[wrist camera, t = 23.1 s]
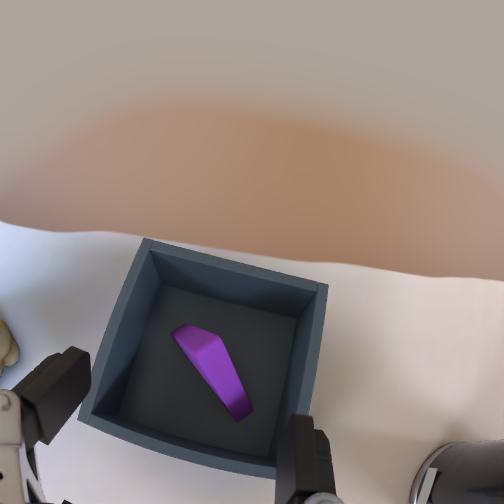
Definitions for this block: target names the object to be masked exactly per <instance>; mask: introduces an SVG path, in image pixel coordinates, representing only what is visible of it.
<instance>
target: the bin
mask: <svg viewBox="0 0 504 504" xmlns="http://www.w3.org/2000/svg"><path fill="white" fill-rule="evenodd" d="M328 287H329V285H328V284H324V283H320V282H319V283H318V282H316V281H312V280H308V279H304V278H300V277H296V276H292V275H287V274H283V273H279V272H275V271H271V270H267V269H263V268H259V267H255V266H251V265H247V264H243V263H239V262H235V261H231V260H228V259H224V258H220V257H216V256H212V255H208V254H204V253H200V252H196V251H192V250H188V249H184V248H181V247H177V246H173V245H169V244H165V243H161V242H158V241H153V240H151V239H147V238H143V241H142V243H141V245H140V247H139V249H138V252H137V254H136V256H135V259H134V261H133V263H132V265H131V268H130V270H129V273H128V275H127V277H126V280H125V282H124V285H123V287H122V289H121V292H120V294H119V297H118V299H117V302H116V305H115V307H114V310H113V312H112V315H111V318H110V320H109V323H108V326H107V328H106V331H105V334H104V337H103V339H102V342H101V345H100V348H99V351H98V354H97V357H96V360H95V363H94V366H93V369H92V372H91V388H90V391H89V393H88V395H87V396H86V397H85V399H84V400H83V401H82V404H81V408H80V411H79V415H78V418H77V420H79V421H81V422H83V423H85V424H87V425H89V426H92V427H94V428H96V429H98V430H101V431H103V432H105V433H108V434H110V435H112V436H115V437H117V438H120V439H122V440H125V441H128V442H130V443H133V444H136V445H138V446H141V447H144V448H147V449H150V450H153V451H156V452H159V453H162V454H165V455H168V456H171V457H175V458H178V459H181V460H185V461H188V462H192V463H196V464H200V465H203V466H207V467H212V468H216V469H220V470H225V471H229V472H234V473H239V474H244V475H250V476H256V477H262V478H268V479H275V480H276V463H277V448H278V443H279V440H280V437H281V435H282V433H283V431H284V429H285V427H286V425H287V422H288V420H289V418H290V416H291V414H292V413H297V414H303V415H308V412H309V407H310V402H311V397H312V392H313V386H314V381H315V375H316V369H317V363H318V357H319V351H320V345H321V338H322V332H323V325H324V318H325V310H326V303H327V295H328ZM185 323H187V324H190V325H193V326H195V327H198V328H200V329H203V330H206V331H208V332H211V333H213V334H216V335H218V336H219V337H220V338H221V340H222V341H223V344H224V346H225V348H226V350H227V353H228V355H229V357H230V359H231V362H232V364H233V366H234V368H235V371H236V373H237V375H238V377H239V379H240V382H241V384H242V386H243V388H244V390H245V393H246V395H247V397H248V399H249V401H250V403H251V406H252V408H253V412H251V413H250V414H249V415H247V416H246V417H245V418H243V419H242V420H241V421H239V422H237V421H236V420H235V419H234V418H233V417H232V416H231V414H230V413H229V412H228V410H227V409H226V408H225V407H224V405H223V404H222V403H221V401H220V400H219V399H218V398H217V396H216V395H215V394H214V392H213V391H212V390H211V388H210V387H209V386H208V384H207V383H206V381H205V380H204V379H203V377H202V376H201V375H200V373H199V372H198V371H197V370H196V368H195V367H194V366H193V364H192V363H191V362H190V360H189V359H188V358H187V356H186V355H185V354H184V352H183V351H182V350H181V348H180V347H179V346H178V344H177V343H176V342H175V340H174V339H173V337H172V336H171V334H170V333H171V332H172V331H174V330H175V329H177V328H178V327H180V326H182V325H183V324H185Z"/></svg>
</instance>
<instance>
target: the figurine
mask: <svg viewBox="0 0 504 504" xmlns="http://www.w3.org/2000/svg"><path fill="white" fill-rule="evenodd" d="M19 355H20V351H19V348H18V345H17V343H16V341H15V340H14V338H13V336H12V334H11V332H10V330H9V328H8V326H7V325H6V323H5V322H4V321H3V320H2V319H1V318H0V377H1V375H2V373H3V370H4V367H6V366H9V367H12V366H13V365H14V364H15V363H16V362H17V360H18V358H19Z"/></svg>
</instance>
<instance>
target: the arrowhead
mask: <svg viewBox="0 0 504 504" xmlns="http://www.w3.org/2000/svg"><path fill="white" fill-rule="evenodd" d="M170 334H171V336H172V337H173V339H174V340H175V342H176V343H177V344H178V346H179V347H180V348H181V350H182V351H183V352H184V354H185V355H186V356H187V358H188V359H189V360H190V362H191V363H192V364H193V366H194V367H195V368H196V370H197V371H198V372H199V373H200V375H201V376H202V377H203V379H204V380H205V381H206V383H207V384H208V386H209V387H210V388H211V390H212V391H213V392H214V394H215V395H216V396H217V398H218V399H219V400H220V401H221V403H222V404H223V405H224V407H225V408H226V409H227V410H228V412H229V413H230V414H231V416H232V417H233V418H234V419H235V420H236V421H237V422H239V421H241V420H242V419H243V418H245V417H246V416H247V415H249V414H250V413H251V412H253V408H252V406H251V403H250V401H249V399H248V397H247V395H246V393H245V390H244V388H243V386H242V384H241V382H240V379H239V377H238V375H237V373H236V371H235V368H234V366H233V364H232V362H231V359H230V357H229V355H228V353H227V350H226V348H225V346H224V344H223V341H222V340H221V338H220V337H219V336H218V335H216V334H213V333H211V332H208V331H206V330H203V329H200V328H198V327H195V326H193V325H190V324H187V323H185V324H183V325H182V326H180V327H178V328H177V329H175V330H174V331H172V332H171V333H170Z"/></svg>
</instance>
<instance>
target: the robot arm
mask: <svg viewBox="0 0 504 504" xmlns="http://www.w3.org/2000/svg"><path fill="white" fill-rule="evenodd" d="M90 388H91V365H90V354H89V353H88V352H86V351H83V350H81V349H79V348H77V347H74V346H71V347H69V348H68V349H67V350H66V351H65V352H64V353H63V354H60V353H56V354H53V355H51V356H48V357H47V358H46V359H44V360H43V361H42V362H41V363H40V365H38V366H37V367H36V368H34V371H31V372H30V373H29V374H28V375H27V376H26V377H25V378H24V379H22V380H21V381H20V382H19V383H18V384H17V385H16V386H15V387H14V388H13V389H12V390H7V389H0V504H53V503H47V501H46V498H45V495H44V492H43V489H42V486H41V481H40V475H39V469H38V462H37V455H36V448H35V444H36V443H37V442H38V441H41V442H43V443H44V444H46V445H49V444H50V442H51V441H52V440H53V438H54V437H55V436H56V434H57V433H58V432H59V430H60V429H61V428H62V427H63V425H64V424H65V423H66V421H67V420H68V419H69V418H70V416H71V415H72V414H73V412H74V411H75V410H76V409H77V407H78V406H79V405H80V404H81V402H82V401H83V400H84V399H85V397H86V396H87V395H88V393H89V391H90ZM330 452H331V450H330V443H329V440H328V438H327V437H326V435H325V433H324V432H323V431H322V430H315V429H314V424H313V417H312V416H309V415H303V414H297V413H292V414H291V416H290V418H289V420H288V422H287V425H286V427H285V429H284V431H283V433H282V435H281V437H280V440H279V443H278V448H277V463H276V487H275V504H344V502H343V501H342V500H341V499H340V498H338V497H337V495H336V489H335V481H334V473H333V465H332V462H331V461H332V458H331V454H330ZM62 504H72V503H70V502H68V501H66V500H64V501H63V503H62ZM410 504H504V439H502V440H494V441H484V442H471V443H467V442H455V443H450V444H447V445H445V446H443V447H441V448H439V449H438V450H437V451H435V452H434V453H433V454H432V455H431V456H430V457H429V458H428V459H427V460H426V461H425V463H424V464H423V466H422V467H421V469H420V470H419V472H418V474H417V476H416V478H415V480H414V483H413V486H412V490H411V495H410Z"/></svg>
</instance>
